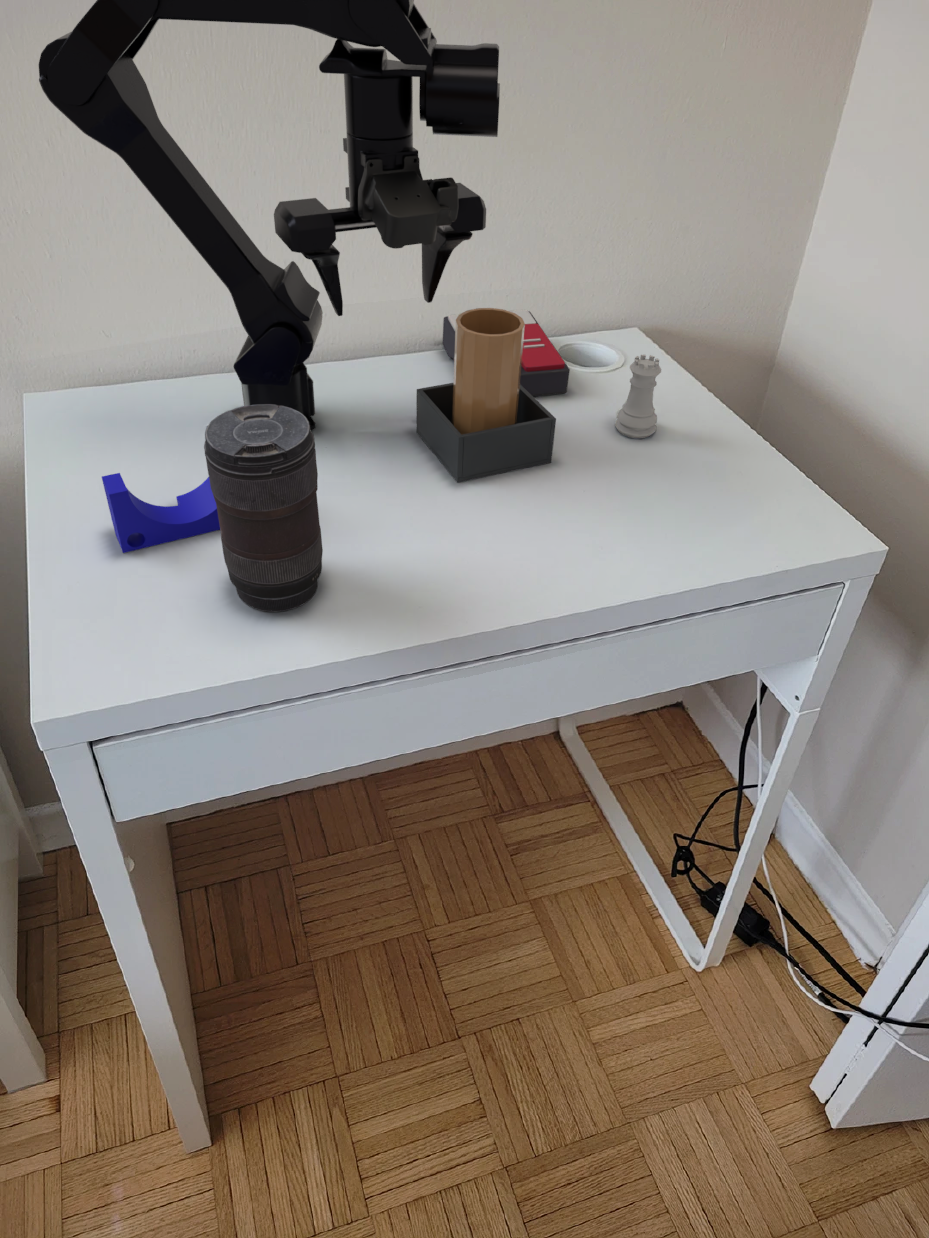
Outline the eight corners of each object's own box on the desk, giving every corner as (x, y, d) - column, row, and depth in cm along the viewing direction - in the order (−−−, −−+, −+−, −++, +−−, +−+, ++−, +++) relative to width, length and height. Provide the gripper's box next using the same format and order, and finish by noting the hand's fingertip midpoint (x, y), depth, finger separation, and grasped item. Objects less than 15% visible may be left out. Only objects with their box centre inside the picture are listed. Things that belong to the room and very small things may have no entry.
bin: (457, 483, 93) (458, 437, 89) (416, 432, 100) (416, 389, 97) (551, 462, 96) (556, 418, 93) (505, 415, 103) (508, 372, 100)
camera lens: (221, 566, 81) (196, 408, 71) (315, 552, 83) (303, 396, 73) (233, 626, 75) (207, 462, 66) (334, 609, 77) (323, 448, 68)
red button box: (476, 372, 103) (442, 310, 113) (474, 407, 106) (441, 343, 116) (572, 364, 105) (530, 303, 116) (567, 398, 108) (526, 336, 119)
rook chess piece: (631, 415, 104) (643, 346, 99) (664, 430, 102) (677, 361, 97) (605, 428, 102) (616, 358, 97) (638, 444, 100) (651, 374, 94)
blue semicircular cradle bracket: (242, 495, 89) (234, 439, 86) (257, 520, 86) (250, 463, 83) (111, 525, 85) (97, 468, 81) (123, 553, 82) (108, 494, 78)
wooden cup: (472, 465, 94) (479, 341, 86) (440, 436, 98) (443, 315, 90) (526, 449, 97) (537, 328, 89) (492, 422, 101) (500, 303, 93)
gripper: (303, 167, 73) (317, 357, 83) (518, 147, 79) (507, 326, 90) (264, 131, 81) (281, 309, 91) (463, 115, 87) (458, 284, 97)
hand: (384, 308), depth 92 cm, fingers open, 9 cm apart
